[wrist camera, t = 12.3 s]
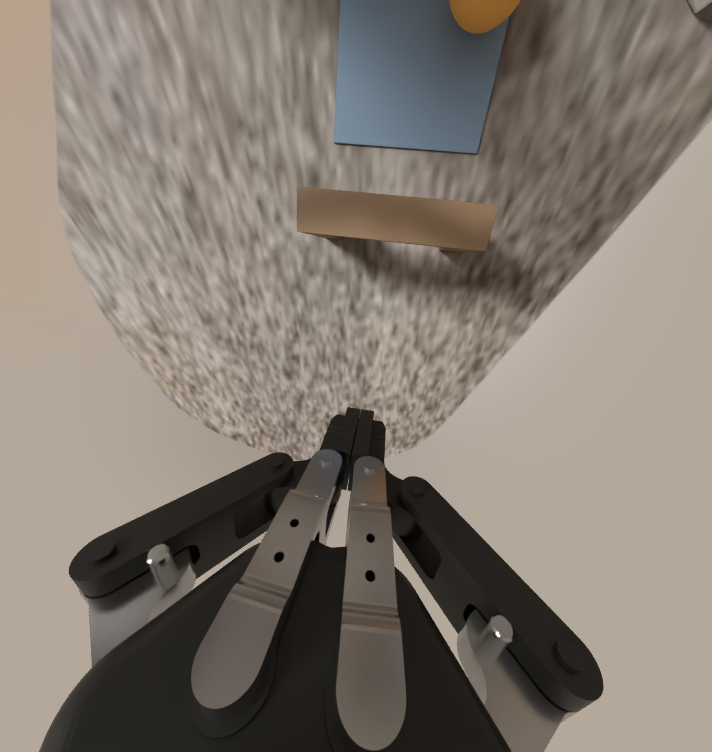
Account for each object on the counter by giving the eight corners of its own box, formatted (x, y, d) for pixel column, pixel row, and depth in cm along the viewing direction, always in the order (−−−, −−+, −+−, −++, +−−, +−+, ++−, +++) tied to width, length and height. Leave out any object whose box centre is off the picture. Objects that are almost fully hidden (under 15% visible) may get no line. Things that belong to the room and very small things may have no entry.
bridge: (457, 252, 28) (485, 251, 20) (325, 237, 29) (297, 231, 21) (465, 220, 27) (499, 204, 18) (326, 207, 28) (296, 186, 19)
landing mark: (334, 143, 26) (333, 142, 26) (345, -95, 19) (344, -98, 19) (476, 153, 25) (477, 153, 24) (535, -94, 18) (536, -98, 18)
